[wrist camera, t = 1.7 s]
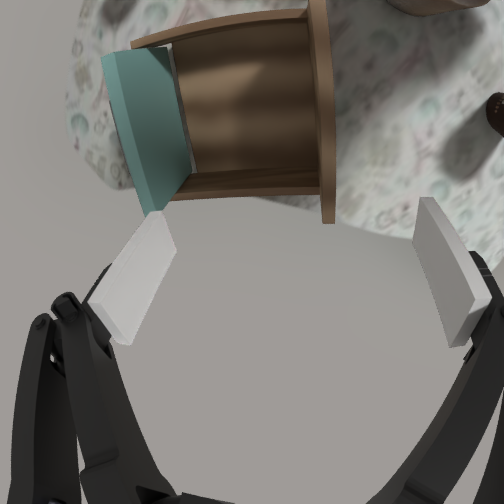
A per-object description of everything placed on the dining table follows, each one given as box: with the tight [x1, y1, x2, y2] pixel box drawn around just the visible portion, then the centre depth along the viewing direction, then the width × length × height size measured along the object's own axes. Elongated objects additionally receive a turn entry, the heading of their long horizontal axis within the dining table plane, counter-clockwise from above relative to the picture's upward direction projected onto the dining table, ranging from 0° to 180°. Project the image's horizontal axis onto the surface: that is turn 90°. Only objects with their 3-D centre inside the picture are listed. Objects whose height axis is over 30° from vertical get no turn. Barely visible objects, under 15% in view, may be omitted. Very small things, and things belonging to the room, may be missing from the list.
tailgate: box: [101, 47, 192, 218], centre depth 30 cm, size 18×3×12 cm, turn 7°
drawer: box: [130, 0, 336, 224], centre depth 29 cm, size 21×20×15 cm
